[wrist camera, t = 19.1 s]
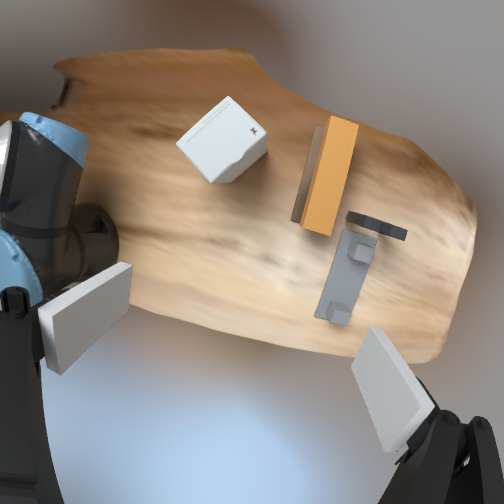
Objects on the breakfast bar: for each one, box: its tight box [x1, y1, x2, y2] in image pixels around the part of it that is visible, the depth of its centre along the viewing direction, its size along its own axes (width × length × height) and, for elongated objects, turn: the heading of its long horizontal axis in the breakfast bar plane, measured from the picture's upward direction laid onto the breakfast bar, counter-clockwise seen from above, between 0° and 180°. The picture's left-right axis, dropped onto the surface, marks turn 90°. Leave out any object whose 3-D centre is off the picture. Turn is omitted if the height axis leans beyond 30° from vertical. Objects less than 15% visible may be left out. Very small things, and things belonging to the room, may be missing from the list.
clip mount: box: [314, 229, 377, 326], centre depth 43 cm, size 6×16×4 cm, turn 166°
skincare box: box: [176, 96, 267, 184], centre depth 35 cm, size 8×7×16 cm
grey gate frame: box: [346, 211, 408, 241], centre depth 36 cm, size 7×2×12 cm, turn 76°
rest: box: [291, 126, 325, 223], centre depth 40 cm, size 6×16×4 cm, turn 166°
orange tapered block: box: [300, 115, 359, 236], centre depth 36 cm, size 4×16×4 cm, turn 166°
